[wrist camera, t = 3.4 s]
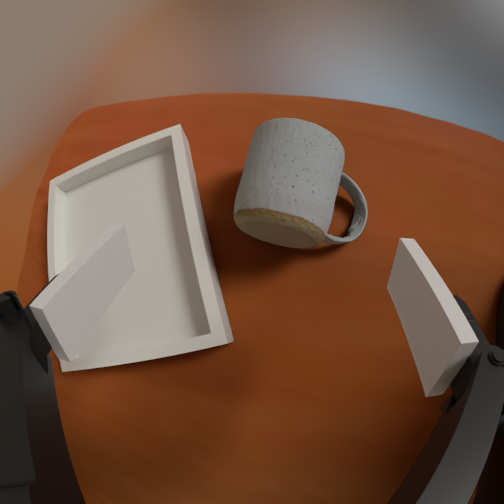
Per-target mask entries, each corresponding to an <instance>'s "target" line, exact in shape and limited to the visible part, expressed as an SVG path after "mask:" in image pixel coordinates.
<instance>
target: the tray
mask: <svg viewBox="0 0 504 504" xmlns="http://www.w3.org/2000/svg"><path fill="white" fill-rule="evenodd" d="M112 224H125V229H126V234H127V238H128V243H129V248H130V252H131V257H132V261H133V265H134V269H135V272H134V273H133V275H132V276H131V277H130V279H129V280H128V281H127V283H126V284H125V285H124V287H123V288H122V289H121V291H120V292H119V293H118V295H117V296H116V298H115V299H114V300H113V302H112V303H111V305H110V306H109V307H108V309H107V310H106V312H105V313H104V314H103V316H102V317H101V319H100V320H99V322H98V323H97V325H96V326H95V327H94V329H93V330H92V332H91V333H90V335H89V336H88V338H87V339H86V341H85V342H84V344H83V345H82V347H81V349H80V350H79V352H78V353H77V355H76V356H75V358H74V359H73V361H72V363H70V362H67V361H64V360H61V359H60V364H61V369H62V372H66V371H75V370H84V369H92V368H100V367H107V366H114V365H121V364H127V363H133V362H139V361H145V360H151V359H157V358H162V357H167V356H172V355H178V354H183V353H187V352H192V351H197V350H202V349H206V348H211V347H215V346H219V345H224V344H228V343H231V342H234V339H233V335H232V331H231V327H230V323H229V320H228V316H227V312H226V308H225V304H224V300H223V296H222V292H221V288H220V284H219V280H218V276H217V271H216V267H215V263H214V259H213V255H212V250H211V246H210V242H209V237H208V233H207V228H206V224H205V219H204V215H203V210H202V206H201V201H200V196H199V192H198V187H197V182H196V177H195V172H194V167H193V162H192V157H191V152H190V147H189V142H188V140H187V137H186V135H185V133H184V131H183V129H182V127H181V125H180V124H179V125H176V126H173V127H170V128H167V129H164V130H162V131H159V132H156V133H154V134H151V135H148V136H146V137H143V138H140V139H138V140H135V141H133V142H131V143H128V144H126V145H123V146H121V147H119V148H116V149H114V150H112V151H109V152H107V153H105V154H103V155H101V156H98V157H96V158H94V159H92V160H90V161H88V162H86V163H84V164H82V165H80V166H78V167H76V168H74V169H72V170H70V171H68V172H66V173H64V174H62V175H60V176H58V177H56V178H55V179H53V180H51V181H50V187H49V201H48V225H47V251H48V275H49V282H50V280H51V279H52V278H53V277H55V276H56V275H58V274H59V273H61V272H62V271H63V270H64V269H65V268H66V267H67V266H68V265H69V264H70V263H71V262H72V261H73V260H74V259H75V258H76V257H77V256H78V255H79V254H80V253H81V252H82V251H83V250H84V249H85V248H86V247H88V246H89V245H90V244H91V243H92V242H93V241H94V240H95V239H96V238H97V237H98V236H100V235H101V234H102V233H103V232H104V231H105V230H106V229H107V228H109V227H110V226H111V225H112Z"/></svg>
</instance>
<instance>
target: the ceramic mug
mask: <svg viewBox="0 0 504 504" xmlns="http://www.w3.org/2000/svg"><path fill="white" fill-rule="evenodd" d="M344 159H345V151H344V148H343V146H342V144H341V142H340V141H339V140H338V139H337V138H336V137H335V136H334V135H333V134H332V133H331V132H329V131H328V130H326V129H324V128H323V127H321V126H319V125H317V124H314V123H311V122H309V121H304V120H301V119H294V118H277V119H272V120H268V121H266V122H264V123H262V124H261V125H260V126H258V128H257V129H256V130H255V131H254V133H253V136H252V140H251V144H250V148H249V151H248V154H247V158H246V161H245V165H244V169H243V173H242V177H241V181H240V184H239V187H238V191H237V194H236V198H235V206H234V221H235V223H236V225H237V226H238V228H239V229H240V230H241V231H243V232H244V233H246V234H248V235H250V236H252V237H254V238H256V239H259V240H261V241H265V242H268V243H271V244H275V245H279V246H284V247H290V248H311V247H315V246H317V245H318V244H320V243H321V242H324V243H327V244H343V243H347V242H350V241H352V240H354V239H356V238H357V237H358V236H359V235H360V234H361V233H362V231H363V229H364V227H365V224H366V220H367V214H368V209H367V203H366V200H365V197H364V195H363V193H362V191H361V190H360V188H359V187H358V185H357V184H356V183H355V182H354V181H353V180H352V179H351V178H350V177H349V176H347V175H346V174H345V173H343V172H342V169H343V165H344ZM339 185H341V186H342V187H343V188H344V189H345V190H346V191H347V192H348V193H349V195H350V197H351V198H352V201H353V203H354V209H355V212H354V216H353V220H352V224H351V226H350V227H349V228H348V235H347V236H346V237H344V238H340V237H335V236H332V235H329V234H327V231H328V229H329V226H330V223H331V219H332V215H333V211H334V204H335V199H336V195H337V191H338V187H339Z"/></svg>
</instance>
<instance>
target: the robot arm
mask: <svg viewBox="0 0 504 504" xmlns="http://www.w3.org/2000/svg"><path fill="white" fill-rule="evenodd" d="M134 272H135V269H134V265H133V261H132V257H131V252H130V248H129V243H128V238H127V234H126V229H125V224H112V225H111V226H110V227H109V228H107V229H106V230H105V231H104V232H103V233H102V234H101V235H100V236H98V237H97V238H96V239H95V240H94V241H93V242H92V243H91V244H90V245H89V246H88V247H86V248H85V249H84V250H83V251H82V252H81V253H80V254H79V255H78V256H77V257H76V258H75V259H74V260H73V261H72V262H71V263H70V264H69V265H68V266H67V267H66V268H65V269H64V270H63V271H62V272H61V273H59V274H58V275H56V276H55V277H53V278H52V279H51V280H50V282H49V283H48V284H47V285H46V286H45V287H44V288H43V289H42V291H40V292H39V293H38V294H37V295H36V296H35V297H34V298H33V299H32V301H31V302H30V303H29V304H28V305H27V306H26V307H25V308H24V309H23V307H22V305H21V303H20V301H19V299H18V296H17V294H16V293H15V292H14V291H6V292H3V293H2V294H0V504H86V503H85V501H84V498H83V496H82V493H81V490H80V487H79V484H78V482H77V479H76V476H75V473H74V469H73V466H72V463H71V459H70V456H69V452H68V449H67V445H66V441H65V437H64V433H63V428H62V424H61V419H60V414H59V409H58V403H57V397H56V391H55V384H54V377H53V368H52V360H51V357H50V355H49V354H48V353H49V352H50V350H51V349H53V351H54V352H55V354H56V356H57V357H58V358H59V359H61V360H64V361H67V362H70V363H72V361H73V359H74V358H75V356H76V355H77V353H78V352H79V350H80V349H81V347H82V345H83V344H84V342H85V341H86V339H87V338H88V336H89V335H90V333H91V332H92V330H93V329H94V327H95V326H96V325H97V323H98V322H99V320H100V319H101V317H102V316H103V314H104V313H105V312H106V310H107V309H108V307H109V306H110V305H111V303H112V302H113V300H114V299H115V298H116V296H117V295H118V293H119V292H120V291H121V289H122V288H123V287H124V285H125V284H126V283H127V281H128V280H129V279H130V277H131V276H132V275H133V273H134ZM387 288H388V291H389V293H390V296H391V298H392V301H393V303H394V306H395V308H396V311H397V313H398V316H399V318H400V321H401V324H402V326H403V329H404V332H405V334H406V337H407V340H408V343H409V346H410V349H411V351H412V354H413V357H414V360H415V363H416V367H417V370H418V373H419V376H420V379H421V383H422V386H423V389H424V393H425V396H426V397H430V396H436V395H442V394H443V393H444V392H445V391H446V389H447V388H448V387H449V385H451V388H452V390H453V393H452V394H451V395H450V397H449V398H448V399H447V400H446V402H445V403H444V404H443V405H442V406H441V408H440V410H442V409H443V408H444V410H443V412H442V414H441V416H440V418H439V420H438V422H437V424H436V426H435V428H434V430H433V432H432V434H431V436H430V438H429V440H428V441H427V443H426V445H425V447H424V449H423V450H422V452H421V454H420V456H419V457H418V459H417V461H416V462H415V464H414V465H413V467H412V469H411V470H410V472H409V473H408V475H407V476H406V478H405V479H404V481H403V482H402V484H401V485H400V487H399V488H398V490H397V491H396V492H395V494H394V495H393V497H392V498H391V499H390V501H389V502H388V503H387V504H467V503H468V501H469V499H470V497H471V495H472V493H473V491H474V489H475V486H476V484H477V482H478V486H477V490H476V494H475V498H474V502H473V504H504V286H503V290H502V293H501V297H500V302H499V308H498V316H497V346H495V345H490V344H489V342H488V341H487V339H486V337H485V335H484V333H483V332H482V330H481V328H480V326H479V325H478V323H477V321H475V318H474V316H473V314H471V311H470V309H469V308H468V306H467V305H466V303H465V302H464V301H463V300H462V299H461V298H459V297H458V296H457V295H452V294H451V292H450V291H449V289H448V287H447V286H446V284H445V283H444V281H443V280H442V278H441V277H440V275H439V274H438V272H437V271H436V269H435V268H434V266H433V265H432V263H431V262H430V261H429V259H428V258H427V256H426V255H425V253H424V252H423V251H422V249H421V248H420V246H419V245H418V244H417V242H416V241H415V240H414V239H408V238H400V240H399V244H398V248H397V252H396V256H395V260H394V263H393V267H392V271H391V274H390V278H389V281H388V285H387ZM478 480H479V481H478Z"/></svg>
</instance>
